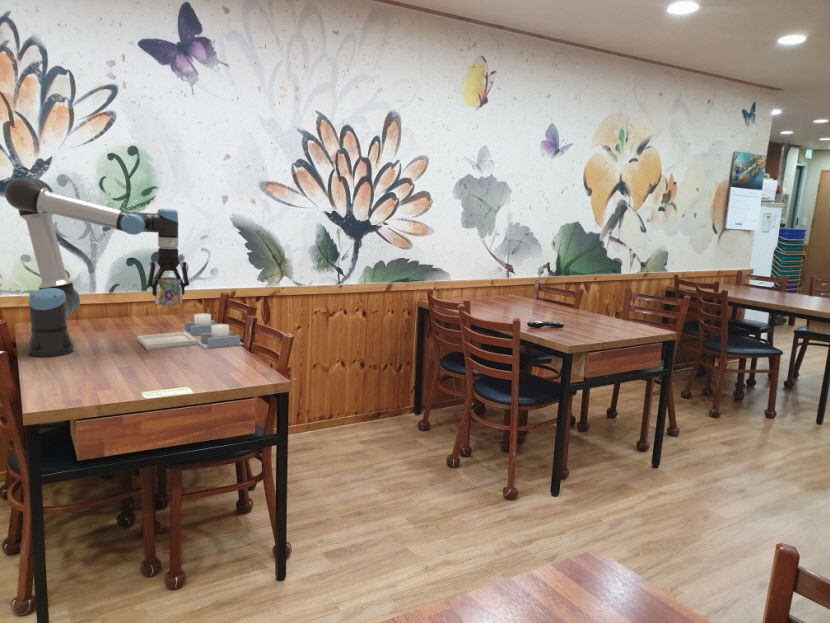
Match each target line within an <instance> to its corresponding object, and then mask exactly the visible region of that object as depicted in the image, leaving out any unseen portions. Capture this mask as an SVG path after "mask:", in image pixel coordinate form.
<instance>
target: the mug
mask: <svg viewBox="0 0 830 623" xmlns="http://www.w3.org/2000/svg"><path fill="white" fill-rule="evenodd" d="M157 280H158V282H159V283H158V285H159V288H160V289H159V290H160V295H159V304H158V305H161V306H172V307H173V306H177V305H180V304H182V303H181V301H180V299H179V295H178V291H179V287H180V283H181V280H182V281H183V279H182V278H181V279H180V280H178V279H177V278H176V277H169V276H167V277H166V276H162V277H161V279H160V280H159V279H157Z"/></svg>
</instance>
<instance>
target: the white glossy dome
mask: <svg viewBox="0 0 830 623" xmlns="http://www.w3.org/2000/svg"><path fill="white" fill-rule="evenodd" d="M193 318H194V321H193V322H194V325H195V326H202V325H211V320H212V314H211V313H204V312H203V313H202V312H201V313H195V314H194V316H193Z"/></svg>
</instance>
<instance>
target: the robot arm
mask: <svg viewBox="0 0 830 623" xmlns="http://www.w3.org/2000/svg"><path fill="white" fill-rule="evenodd" d="M4 196H5V200H6V201H7V203H8V204H9V205H10V206H11V207H13V208H15V209H17V210H18V214H19V217H20V218H22V219H23V220H25V222H26V226H27V229H28V234H29V237H30V241H31V244H32V248H33V252H34V257H35V260H36V261H35V262H36V265H37V268H38V272H39V275H40V280H41V283H40V284H39V286H38V289H36V290H34V291H32V292H31V293H29V297H28V306H29V316H30V329H31V334H30V337H29V340H28V344H27V349H26V350H27V355H28V356H32V357H39V358H40V357H41V358H44V357H45V358H46V357H48V358H49V357H57V356H63V355H68V354H71V353H72V352H74V351H75V346H74V343H73V340H72V338H71V336H70V333H69V331H68V319H67V318H68V317H70V316H72V315H73V314H74V313H76V311H77V310H78V309H79V307H80V304H81V297H80V294H79V293H78V291H77V290H76V289H75V288H74V283H73V281H72V280H71V279H69V278H68V277H67V274H66V269H65V266H64V265H65V264H64V262H63V257H62V254H61V250H60V246H59V242H58V238H57V234H56V230H55V225H54V222H53V216H54V215H56V216H61V217H66V218H69V219H71V220H72V219H73V220H78V221H81V222H86V223H90V224H93V225H98V226H101V227H105V228H109V229H114V230H117V231H119V232H120V231H121V232H125V233H126V234H128V235H134V236H135V235H138V234H141V233H157V240H158V242H157V244H158V245H157V247H159V248H157V249H158V251H157V252H158V254H157V256H158V257H157V258H158V259H157V260H156V261H150V262H149V265H150V269H149V273H148V279H147V282H146V283H147V286H148V287H150V288H151V289H152V292H151V293H152V296H153V297H154V301H155V302H154V303H155V304H156V305H160V304H159V300H160V295H159V294H160V293H159V292H160V291H159V290H160V289H159V288H160V287H158V285H159V282H158V280H157V279H159V280H160V279H161V278H162V277H163V274H165V272H173V274H174V276H175V278H177V279H178V280H180V279H182V278H183V279H182V280H181V283H180V285H179V291H178V295H179V299H180V301H181V303H180V304H183V296H184V295H185V288H186V287H187V286H190V282H189V277H188V272H187V264H188V263H187V262H186V261H180V260H179V249H178V248H179V213H178V211H177V210H176V209H170V208H159V209H157V212H156V213H151V212H150V213H149V212H137V211H131V212H130V211H127V210H123V209H118V208H115V207H110V206H106V205H103V204H99V203H95V202H90V201H87V200H83V199H80V198H75V197H72V196H69V195H65V194H60V193H57V192H55V191H54V190H53V188H52V186H51V185H50V184H49V183H47V182H45V181H44V180H41V179H38V178H31V177H30V178H28V177H27V178H24V177H20V178H19V177H17V178H14V179H13V180H11V181H10V182H8V183H7V184H6V187H5V189H4ZM157 265H158V266H159V269H158V272H157V275H156V277H155V279H154V276H155V271H156V267H158V266H157ZM178 266H180V267H181V272H182V277H181V275H180V273H179V271H178V268H177V267H178Z"/></svg>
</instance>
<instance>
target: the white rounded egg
mask: <svg viewBox="0 0 830 623" xmlns="http://www.w3.org/2000/svg"><path fill="white" fill-rule="evenodd" d="M229 331H230V324H226V323H215V324H214V325H211V334H212V338H217V337H227V336H229Z"/></svg>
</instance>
